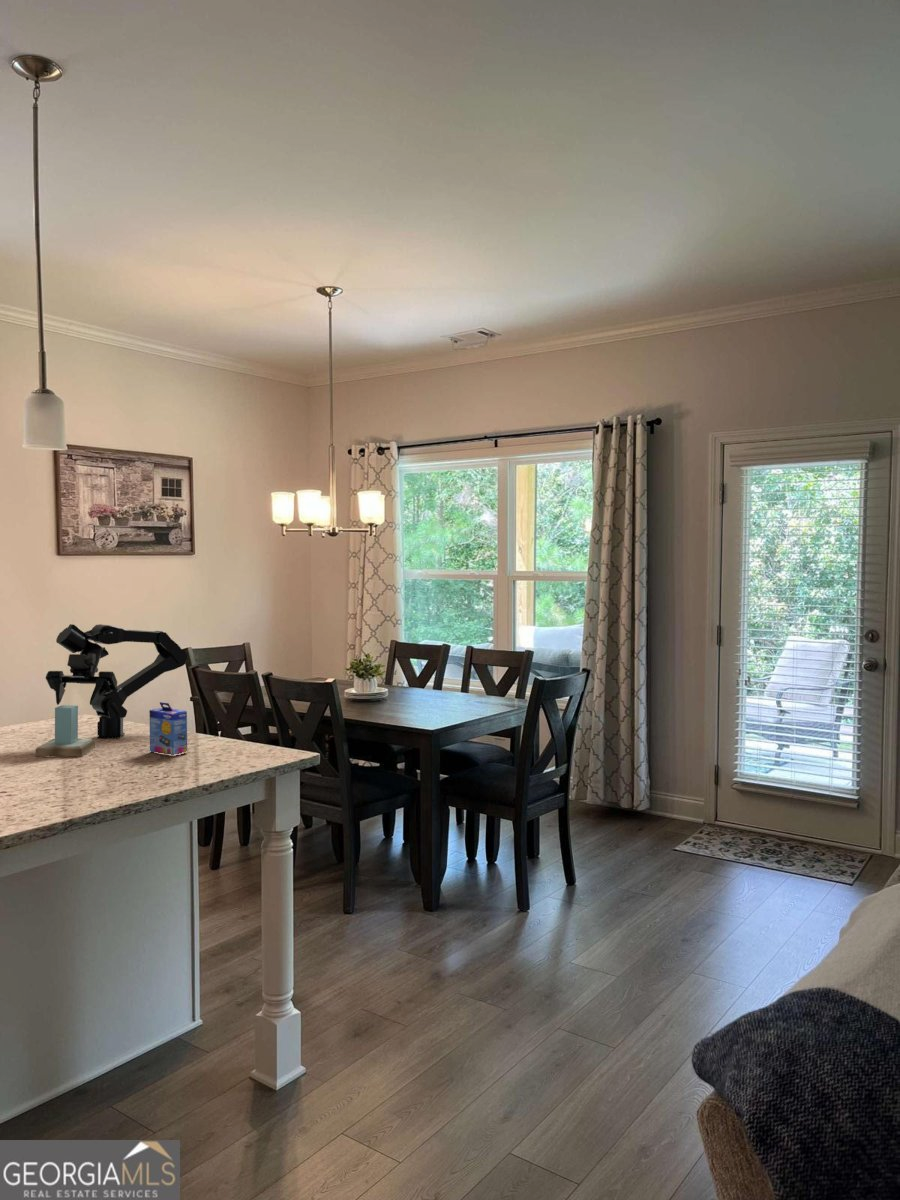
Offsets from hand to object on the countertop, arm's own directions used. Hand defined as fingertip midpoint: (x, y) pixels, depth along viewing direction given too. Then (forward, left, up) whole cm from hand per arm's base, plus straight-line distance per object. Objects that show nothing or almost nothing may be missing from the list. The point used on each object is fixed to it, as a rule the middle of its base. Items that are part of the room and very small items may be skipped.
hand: (74, 703), depth 246 cm
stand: (+1, +4, -13) cm, 14 cm away
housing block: (+1, +4, -10) cm, 11 cm away
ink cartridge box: (-27, +6, -13) cm, 31 cm away
